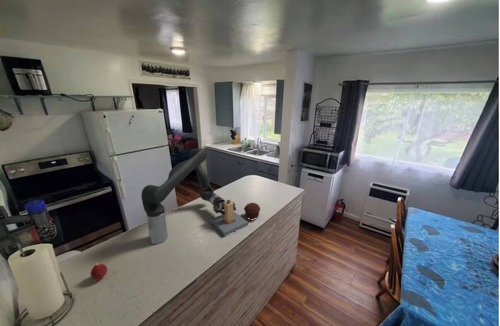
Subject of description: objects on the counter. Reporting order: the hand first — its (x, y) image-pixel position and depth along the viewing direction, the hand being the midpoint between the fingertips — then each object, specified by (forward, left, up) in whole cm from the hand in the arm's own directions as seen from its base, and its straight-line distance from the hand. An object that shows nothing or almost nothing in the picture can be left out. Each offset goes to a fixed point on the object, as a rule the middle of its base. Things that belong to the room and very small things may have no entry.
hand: (230, 211), depth 123 cm
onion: (-68, +2, -11) cm, 69 cm away
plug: (0, +2, -10) cm, 11 cm away
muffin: (+18, -1, -11) cm, 21 cm away
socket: (0, +1, -10) cm, 11 cm away
